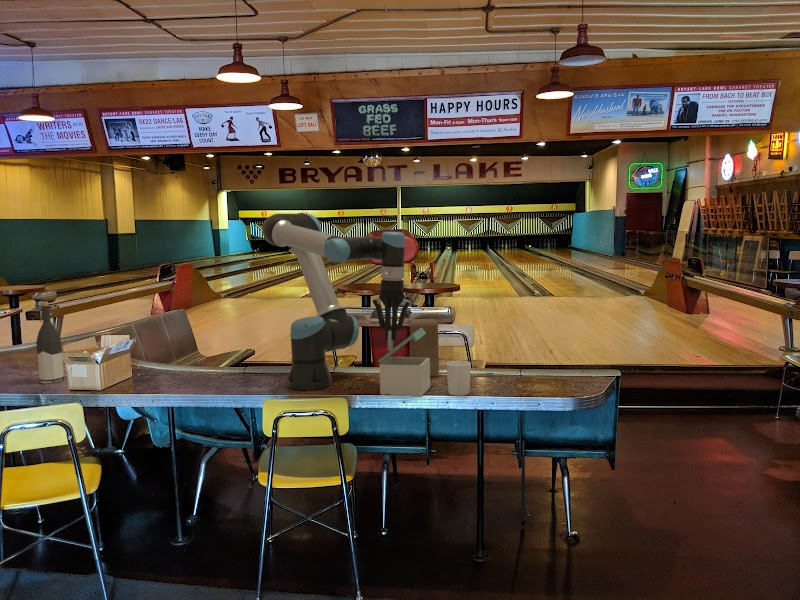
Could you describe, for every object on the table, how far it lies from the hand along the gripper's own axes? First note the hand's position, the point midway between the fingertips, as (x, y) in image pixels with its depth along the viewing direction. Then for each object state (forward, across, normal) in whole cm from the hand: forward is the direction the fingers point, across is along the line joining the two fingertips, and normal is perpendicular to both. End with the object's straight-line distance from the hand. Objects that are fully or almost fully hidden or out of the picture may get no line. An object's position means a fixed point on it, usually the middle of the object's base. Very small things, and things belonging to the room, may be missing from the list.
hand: (390, 349), depth 210 cm
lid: (0, +5, 0) cm, 5 cm away
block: (+14, +6, +23) cm, 28 cm away
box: (+13, +6, 0) cm, 15 cm away
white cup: (+13, +24, 0) cm, 27 cm away
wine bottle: (+21, -128, -12) cm, 130 cm away
